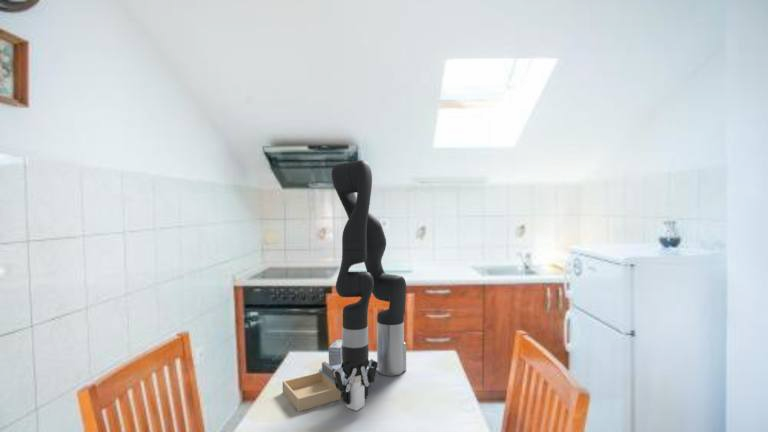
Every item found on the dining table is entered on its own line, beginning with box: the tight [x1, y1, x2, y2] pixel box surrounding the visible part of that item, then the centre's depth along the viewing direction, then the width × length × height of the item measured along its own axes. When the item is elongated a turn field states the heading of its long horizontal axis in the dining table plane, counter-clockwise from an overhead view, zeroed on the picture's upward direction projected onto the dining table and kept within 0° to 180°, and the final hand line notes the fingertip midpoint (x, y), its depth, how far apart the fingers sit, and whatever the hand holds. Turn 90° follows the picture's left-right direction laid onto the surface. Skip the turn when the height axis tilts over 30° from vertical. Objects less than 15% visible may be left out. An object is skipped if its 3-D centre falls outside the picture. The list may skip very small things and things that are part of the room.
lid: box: [318, 361, 368, 386], centre depth 130 cm, size 13×13×3 cm
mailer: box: [282, 371, 342, 412], centre depth 124 cm, size 13×13×4 cm
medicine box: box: [328, 339, 343, 366], centre depth 144 cm, size 8×4×9 cm, turn 168°
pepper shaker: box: [346, 375, 366, 411], centre depth 117 cm, size 4×4×10 cm
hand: (355, 400), depth 117 cm, fingers closed on pepper shaker, 4 cm apart
